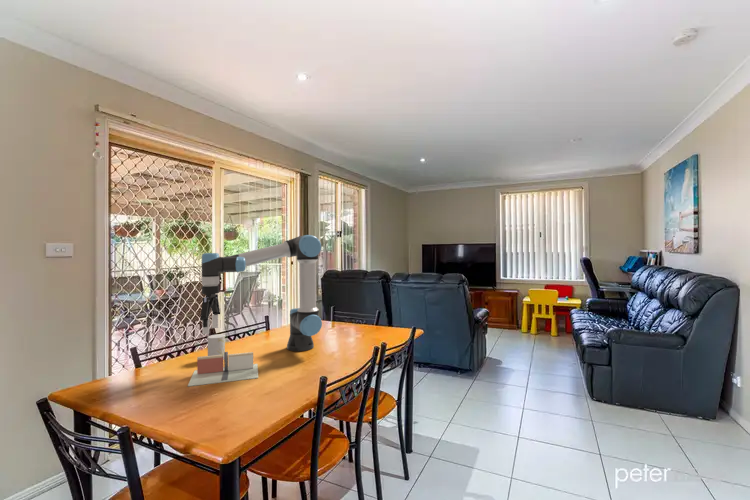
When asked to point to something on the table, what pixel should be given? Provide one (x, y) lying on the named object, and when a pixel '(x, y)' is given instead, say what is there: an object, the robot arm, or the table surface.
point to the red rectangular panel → (209, 364)
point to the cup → (216, 345)
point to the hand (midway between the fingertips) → (210, 330)
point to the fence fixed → (238, 361)
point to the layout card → (223, 376)
